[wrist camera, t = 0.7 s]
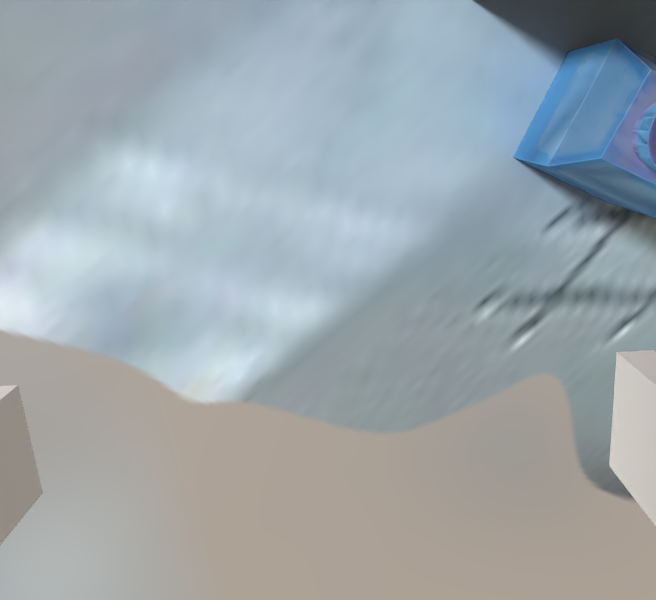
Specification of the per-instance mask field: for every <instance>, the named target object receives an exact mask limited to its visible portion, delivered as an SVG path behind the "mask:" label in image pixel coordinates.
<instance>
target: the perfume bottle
mask: <svg viewBox="0 0 656 600" xmlns="http://www.w3.org/2000/svg"><path fill="white" fill-rule="evenodd" d="M513 158H516V159H518V160H520V161H522V162H524V163H526V164H528V165H530V166H532V167H534V168H537V169H539V170H541V171H543V172H545V173H547V174H549V175H551V176H553V177H555V178H558V179H560V180H562V181H564V182H566V183H568V184H570V185H572V186H574V187H576V188H579V189H581V190H583V191H585V192H587V193H589V194H591V195H593V196H595V197H598V198H600V199H602V200H604V201H606V202H609V203H612V204H615V205H618V206H621V207H623V208H626V209H629V210H632V211H635V212H638V213H641V214H644V215H647V216H650V217H653V218H656V58H654V57H652V56H650V55H648V54H646V53H644V52H642V51H640V50H638V49H636V48H635V47H633V46H631V45H629V44H627V43H625V42H623V41H621V40H619V39H614V40H610V41H606V42H603V43H599V44H595V45H591V46H588V47H584V48H580V49H576V50H573V51H569V52H568V54H567V56H566V58H565V60H564V61H563V63H562V65H561V67H560V69H559V71H558V73H557V75H556V77H555V79H554V80H553V82H552V84H551V86H550V88H549V90H548V92H547V94H546V96H545V98H544V100H543V101H542V103H541V105H540V107H539V109H538V111H537V113H536V115H535V117H534V119H533V120H532V122H531V124H530V126H529V128H528V130H527V132H526V134H525V136H524V138H523V139H522V141H521V143H520V145H519V147H518V149H517V151H516V153H515V155H514V157H513Z"/></svg>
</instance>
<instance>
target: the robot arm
mask: <svg viewBox="0 0 656 600" xmlns="http://www.w3.org/2000/svg"><path fill="white" fill-rule="evenodd" d="M609 466H610V467H611V469H612V470H613V471H614V473H615V474H616V475H617V477H618V478H619V479H620V480H621V482H622V483H623V484H624V486H625V487H626V488H627V490H628V491H629V492H630V494H631V495H632V496H633V497H634V499H635V500H636V501H637V503H638V504H639V505H640V507H641V508H642V509H643V510H644V512H645V513H646V514H647V516H648V517H649V518H650V520H651V521H652V522H653V523H654V525H655V526H656V352H655V351H654V350H647V351H629V352H617V357H616V373H615V388H614V403H613V419H612V434H611V449H610V465H609ZM42 493H43V492H42V488H41V483H40V479H39V475H38V470H37V466H36V462H35V457H34V453H33V448H32V444H31V439H30V435H29V431H28V426H27V422H26V418H25V413H24V409H23V404H22V400H21V395H20V391H19V387H18V385H14V386H13V385H12V386H0V545H1V544H2V542H3V541H4V540H5V539H6V538H7V536H8V535H9V534H10V533H11V531H12V530H13V529H14V528H15V526H16V525H17V524H18V523H19V521H20V520H21V519H22V518H23V516H24V515H25V514H26V513H27V512H28V510H29V509H30V508H31V507H32V505H33V504H34V503H35V502H36V500H37V499H38V498H39V497H40V495H41V494H42Z"/></svg>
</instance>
